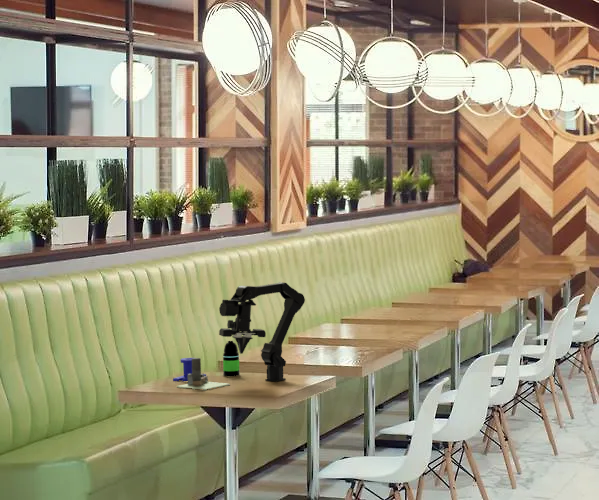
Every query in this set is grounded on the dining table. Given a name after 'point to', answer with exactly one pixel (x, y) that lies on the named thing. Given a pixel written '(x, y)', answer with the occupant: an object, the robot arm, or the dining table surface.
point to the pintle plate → (204, 385)
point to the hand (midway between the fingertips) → (241, 353)
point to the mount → (185, 369)
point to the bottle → (231, 360)
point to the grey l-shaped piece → (197, 372)
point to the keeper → (191, 379)
